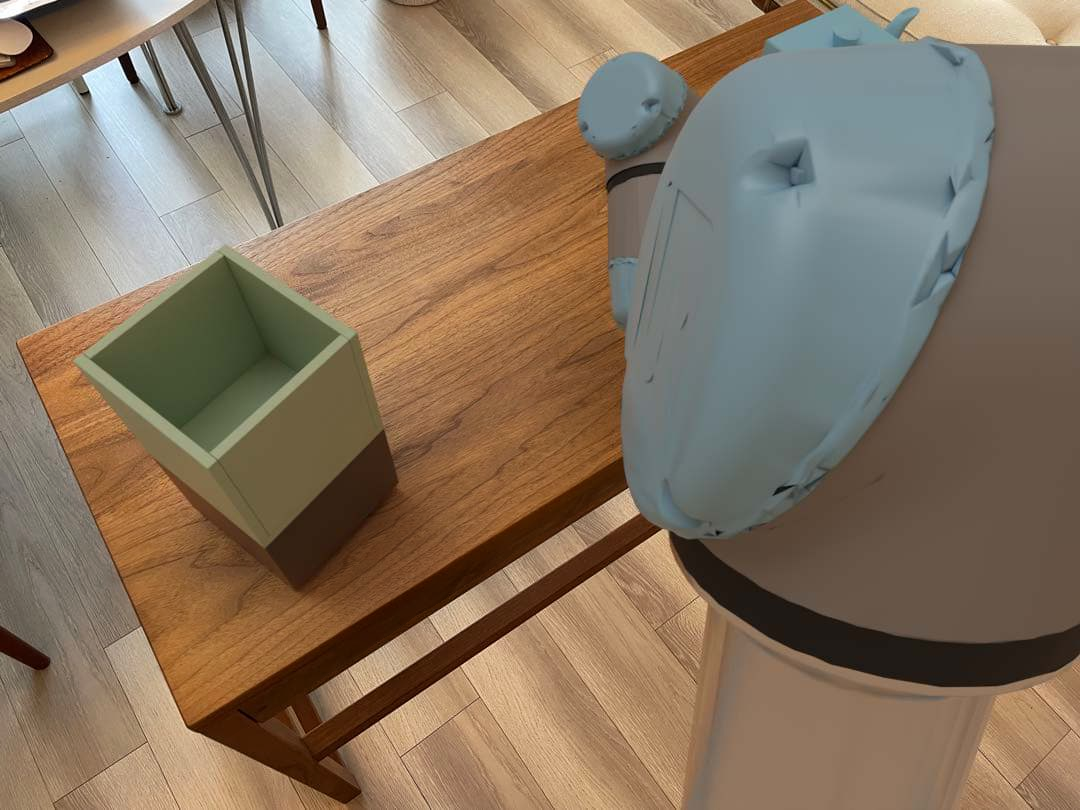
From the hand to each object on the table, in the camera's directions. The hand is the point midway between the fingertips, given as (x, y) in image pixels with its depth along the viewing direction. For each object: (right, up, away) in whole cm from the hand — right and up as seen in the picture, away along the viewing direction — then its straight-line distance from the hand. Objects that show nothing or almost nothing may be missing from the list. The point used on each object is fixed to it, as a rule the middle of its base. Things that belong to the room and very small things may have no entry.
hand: (802, 240), depth 84 cm
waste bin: (-50, -26, -12) cm, 57 cm away
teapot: (+7, +18, +17) cm, 25 cm away
